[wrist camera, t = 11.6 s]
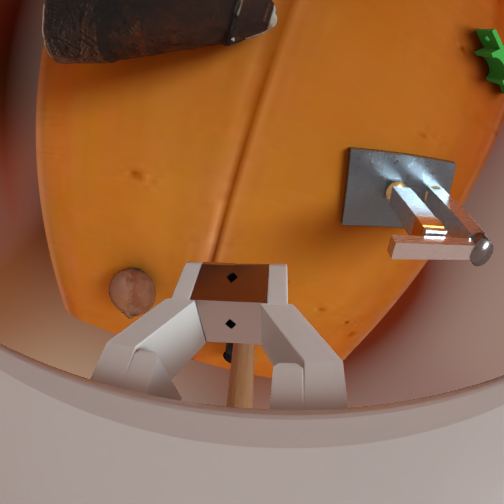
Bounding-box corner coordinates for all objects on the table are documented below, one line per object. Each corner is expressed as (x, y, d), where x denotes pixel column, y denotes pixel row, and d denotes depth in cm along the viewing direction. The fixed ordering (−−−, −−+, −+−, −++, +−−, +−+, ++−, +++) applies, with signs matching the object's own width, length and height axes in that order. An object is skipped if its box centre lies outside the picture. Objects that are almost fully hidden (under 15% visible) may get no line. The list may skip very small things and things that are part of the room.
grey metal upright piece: (361, 178, 36) (398, 237, 24) (445, 187, 35) (497, 242, 23) (358, 200, 38) (389, 266, 26) (439, 207, 37) (486, 266, 25)
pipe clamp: (464, 34, 20) (482, 33, 17) (478, 29, 19) (495, 28, 15) (493, 98, 25) (510, 103, 21) (504, 91, 23) (522, 96, 20)
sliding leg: (389, 182, 36) (425, 229, 26) (408, 184, 35) (447, 230, 25) (386, 202, 38) (418, 253, 28) (404, 203, 37) (439, 253, 27)
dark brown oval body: (277, 70, 20) (26, 65, 15) (253, 80, 33) (84, 70, 28) (307, -50, 13) (63, -51, 8) (274, -6, 26) (106, -15, 21)
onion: (155, 280, 58) (150, 326, 53) (113, 272, 54) (106, 318, 49) (161, 263, 50) (155, 316, 45) (112, 254, 46) (103, 307, 42)
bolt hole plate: (349, 147, 35) (351, 149, 34) (452, 161, 33) (456, 164, 32) (340, 221, 42) (342, 225, 41) (436, 226, 40) (438, 229, 39)
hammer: (248, 279, 54) (238, 420, 27) (273, 286, 54) (281, 426, 27) (223, 347, 62) (206, 466, 36) (243, 352, 63) (235, 471, 36)
